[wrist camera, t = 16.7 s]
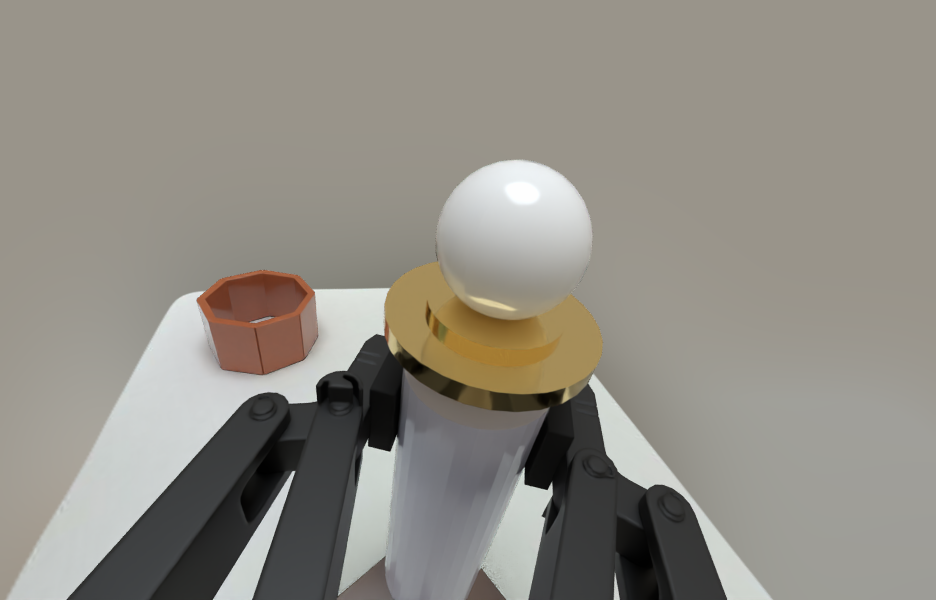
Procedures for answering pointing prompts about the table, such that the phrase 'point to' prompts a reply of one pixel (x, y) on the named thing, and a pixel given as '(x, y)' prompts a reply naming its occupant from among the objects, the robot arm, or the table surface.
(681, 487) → the table surface
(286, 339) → the holder
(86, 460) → the table surface
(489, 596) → the coaster
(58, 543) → the table surface
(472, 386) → the perfume bottle
